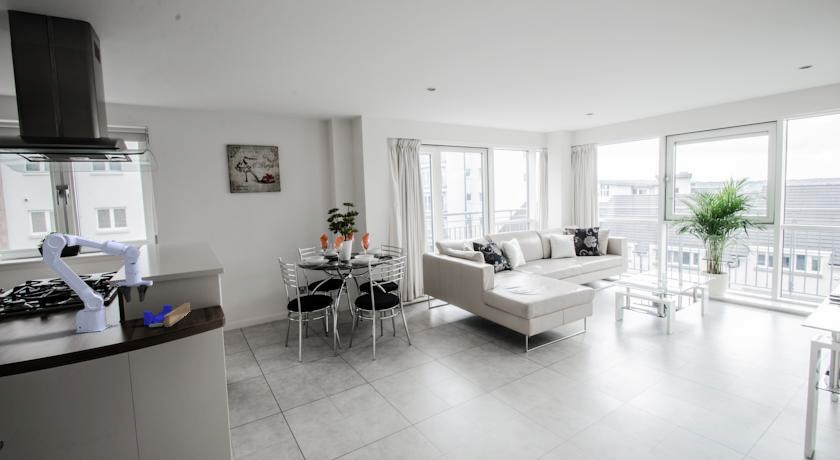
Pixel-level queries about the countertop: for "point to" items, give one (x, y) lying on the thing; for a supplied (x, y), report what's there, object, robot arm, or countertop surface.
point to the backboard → (176, 314)
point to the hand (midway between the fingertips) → (135, 301)
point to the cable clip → (160, 317)
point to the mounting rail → (157, 324)
